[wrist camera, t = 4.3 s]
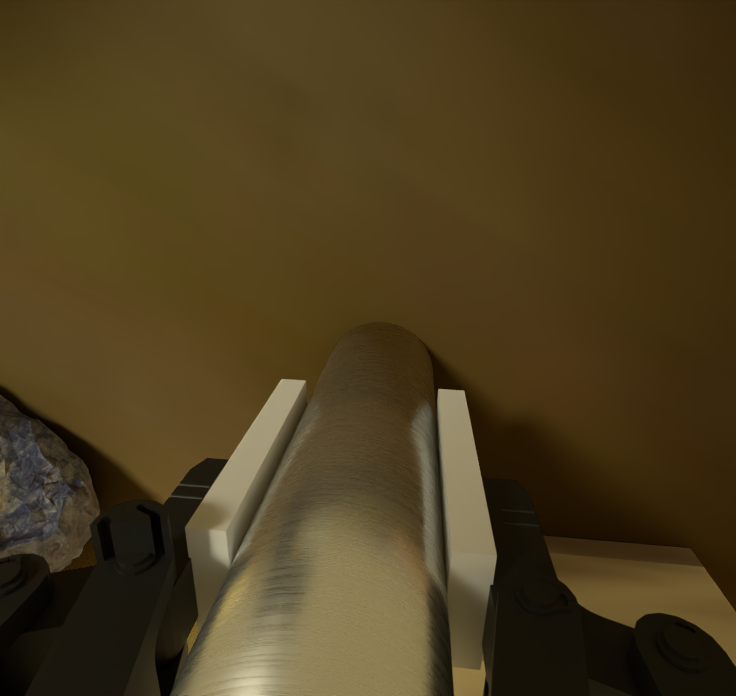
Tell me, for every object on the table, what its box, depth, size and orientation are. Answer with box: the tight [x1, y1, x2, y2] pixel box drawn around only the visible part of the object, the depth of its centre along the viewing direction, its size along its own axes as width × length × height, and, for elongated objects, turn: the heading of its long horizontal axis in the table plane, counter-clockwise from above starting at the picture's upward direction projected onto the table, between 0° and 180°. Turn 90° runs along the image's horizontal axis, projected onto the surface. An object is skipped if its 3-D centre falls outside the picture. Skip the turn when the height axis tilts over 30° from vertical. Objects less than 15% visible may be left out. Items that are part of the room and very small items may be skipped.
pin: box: [169, 323, 454, 696], centre depth 11 cm, size 4×4×16 cm
